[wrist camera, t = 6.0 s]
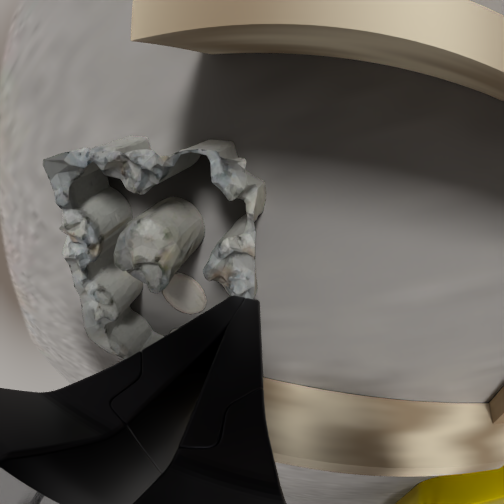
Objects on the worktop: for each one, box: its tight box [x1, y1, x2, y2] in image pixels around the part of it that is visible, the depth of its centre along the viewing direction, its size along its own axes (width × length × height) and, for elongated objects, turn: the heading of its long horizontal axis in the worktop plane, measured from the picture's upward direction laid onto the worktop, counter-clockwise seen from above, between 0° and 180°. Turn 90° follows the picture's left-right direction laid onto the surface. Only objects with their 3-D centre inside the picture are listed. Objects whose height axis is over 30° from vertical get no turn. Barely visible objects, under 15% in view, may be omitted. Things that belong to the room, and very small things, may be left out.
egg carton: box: [43, 136, 266, 360], centre depth 11 cm, size 11×8×4 cm
